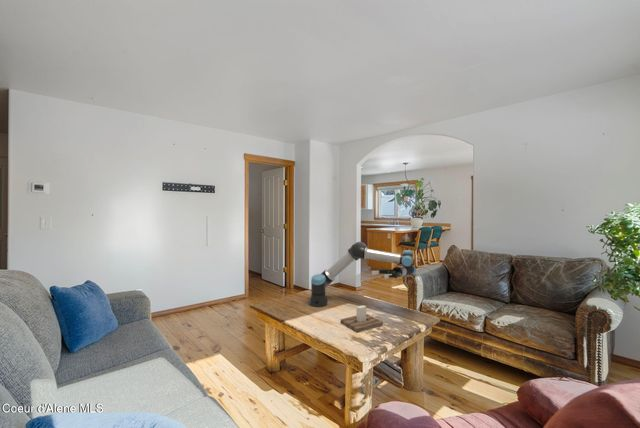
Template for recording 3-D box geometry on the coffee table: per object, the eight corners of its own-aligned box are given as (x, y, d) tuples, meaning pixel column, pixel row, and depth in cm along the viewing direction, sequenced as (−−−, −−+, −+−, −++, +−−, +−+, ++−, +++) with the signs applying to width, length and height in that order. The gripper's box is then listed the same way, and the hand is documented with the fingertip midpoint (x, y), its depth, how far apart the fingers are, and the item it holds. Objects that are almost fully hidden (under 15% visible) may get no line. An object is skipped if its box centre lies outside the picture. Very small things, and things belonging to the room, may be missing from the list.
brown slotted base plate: (340, 322, 199) (340, 319, 199) (365, 316, 210) (365, 313, 210) (356, 332, 183) (356, 328, 183) (382, 325, 194) (382, 321, 194)
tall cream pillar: (356, 324, 196) (356, 306, 196) (363, 322, 199) (363, 305, 199) (359, 325, 194) (359, 308, 193) (366, 323, 197) (366, 306, 197)
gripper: (411, 279, 212) (390, 283, 201) (387, 273, 233) (367, 276, 222) (411, 269, 212) (390, 273, 201) (387, 264, 233) (367, 266, 222)
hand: (378, 275), depth 212 cm, fingers open, 13 cm apart
